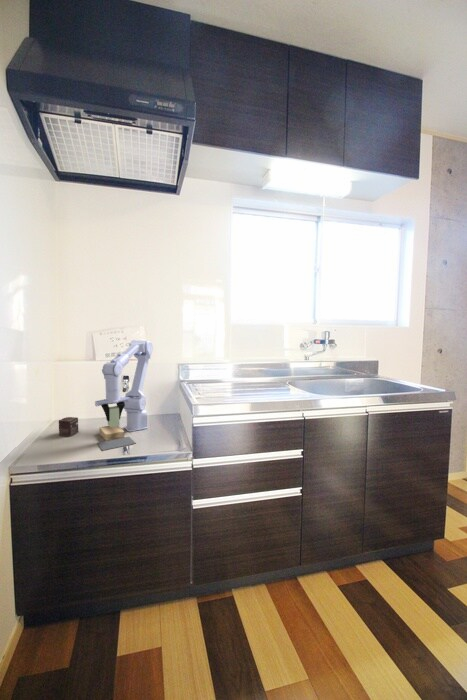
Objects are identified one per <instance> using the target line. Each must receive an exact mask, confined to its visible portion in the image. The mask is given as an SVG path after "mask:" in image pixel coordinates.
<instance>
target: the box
mask: <svg viewBox="0 0 467 700" xmlns="http://www.w3.org/2000/svg"><path fill="white" fill-rule="evenodd" d="M78 433H79V417H74V416H73V417H71V416H66V417H63V418H62V419H61V418H60V419H59V420H58V435H59V436H61V437H72V436H75V435H76V434H78Z"/></svg>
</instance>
